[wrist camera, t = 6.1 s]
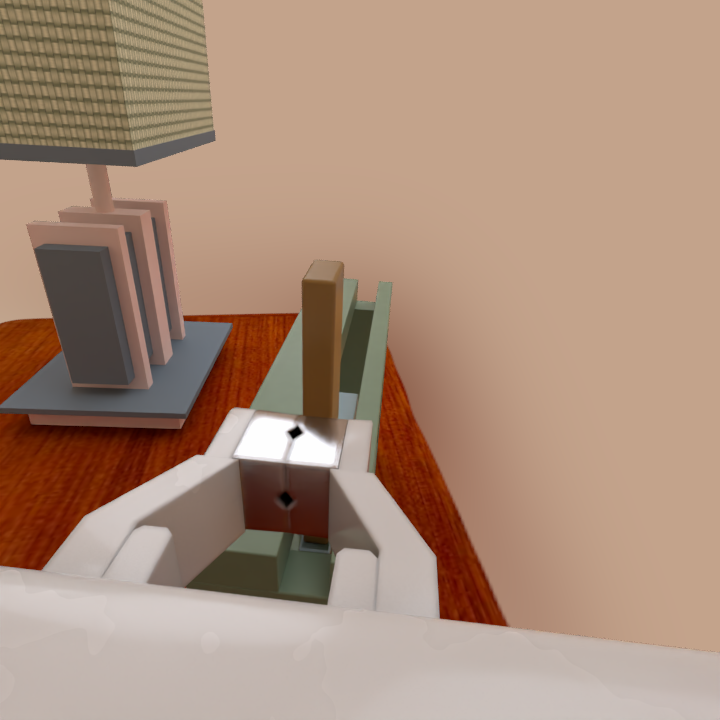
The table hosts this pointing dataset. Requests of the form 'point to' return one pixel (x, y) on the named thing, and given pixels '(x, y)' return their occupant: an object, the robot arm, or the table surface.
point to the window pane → (323, 356)
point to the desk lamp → (109, 202)
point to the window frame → (285, 394)
